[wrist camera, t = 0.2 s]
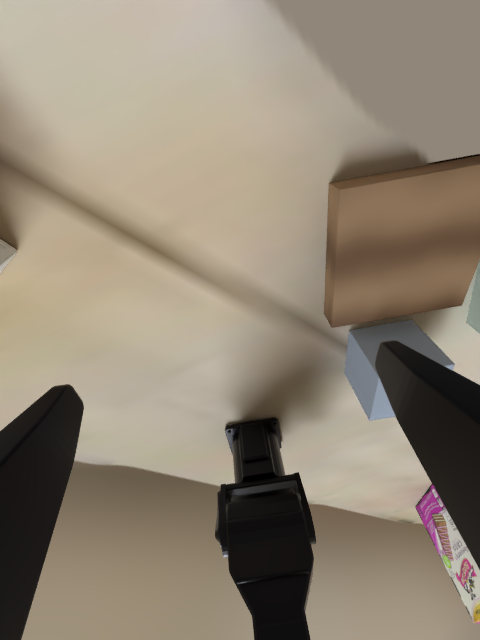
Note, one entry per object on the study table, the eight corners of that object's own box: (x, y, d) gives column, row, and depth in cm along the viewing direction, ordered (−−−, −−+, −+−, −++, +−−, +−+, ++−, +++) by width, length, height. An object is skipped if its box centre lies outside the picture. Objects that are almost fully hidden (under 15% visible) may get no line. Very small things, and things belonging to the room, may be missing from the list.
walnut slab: (442, 290, 26) (461, 305, 24) (322, 310, 26) (331, 327, 24) (487, 152, 19) (519, 157, 17) (326, 181, 20) (339, 189, 18)
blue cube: (399, 362, 31) (434, 409, 26) (344, 372, 31) (369, 420, 26) (411, 319, 27) (454, 364, 22) (348, 329, 27) (379, 377, 22)
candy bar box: (430, 482, 51) (508, 613, 37) (458, 478, 51) (545, 607, 38) (412, 507, 57) (473, 626, 44) (437, 504, 57) (505, 621, 44)
